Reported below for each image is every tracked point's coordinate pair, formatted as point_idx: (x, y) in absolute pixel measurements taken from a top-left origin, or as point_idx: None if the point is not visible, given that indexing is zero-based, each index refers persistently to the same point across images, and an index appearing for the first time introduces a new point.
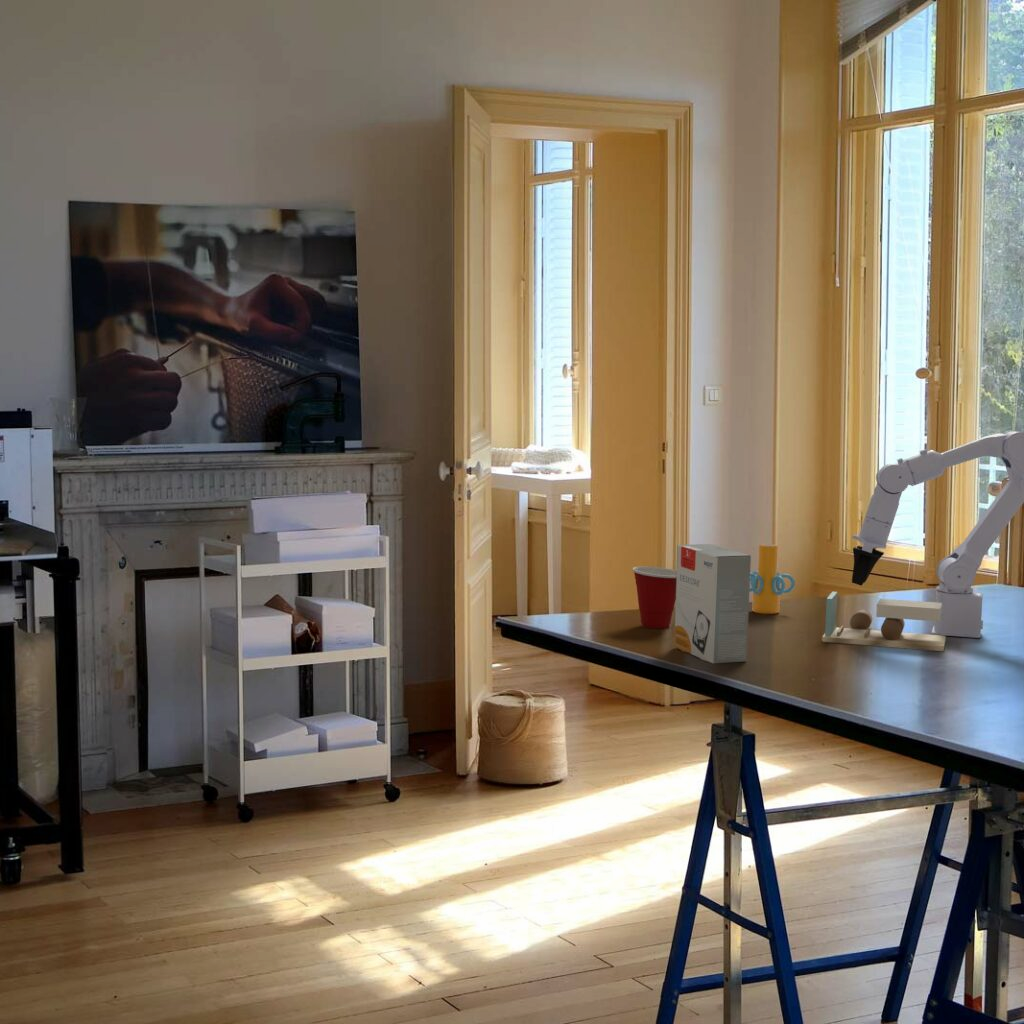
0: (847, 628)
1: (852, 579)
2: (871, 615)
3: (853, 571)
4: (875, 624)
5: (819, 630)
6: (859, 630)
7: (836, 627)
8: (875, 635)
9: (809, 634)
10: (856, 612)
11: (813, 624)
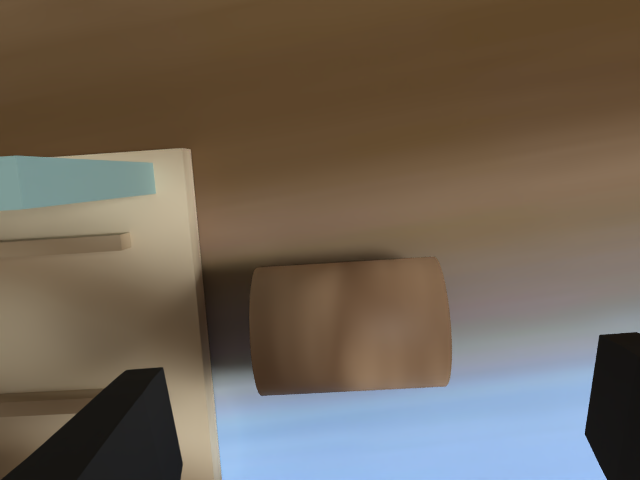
0: (184, 261)
1: (103, 392)
2: (443, 386)
3: (25, 463)
4: (593, 359)
5: (205, 86)
6: (151, 337)
7: (180, 193)
8: (40, 442)
9: (37, 58)
10: (345, 306)
11: (405, 6)
